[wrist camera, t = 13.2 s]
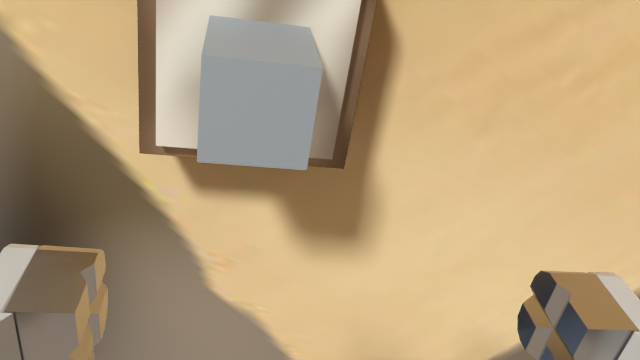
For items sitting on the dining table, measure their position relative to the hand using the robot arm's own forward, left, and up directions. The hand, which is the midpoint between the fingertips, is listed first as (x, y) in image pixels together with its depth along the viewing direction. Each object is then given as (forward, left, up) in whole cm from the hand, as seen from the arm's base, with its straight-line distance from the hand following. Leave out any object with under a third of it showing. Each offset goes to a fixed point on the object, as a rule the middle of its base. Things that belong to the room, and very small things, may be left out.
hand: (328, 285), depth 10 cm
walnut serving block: (+1, +3, -26) cm, 26 cm away
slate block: (+1, +3, -20) cm, 21 cm away
